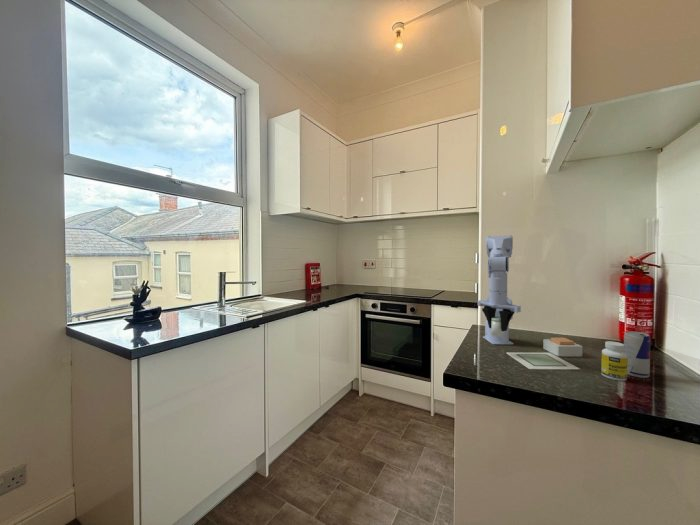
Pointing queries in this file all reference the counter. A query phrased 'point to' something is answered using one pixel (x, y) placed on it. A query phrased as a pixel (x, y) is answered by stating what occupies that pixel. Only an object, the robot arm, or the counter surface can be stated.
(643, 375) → the energy drink
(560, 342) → the button
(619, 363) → the supplement bottle
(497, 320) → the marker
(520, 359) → the picture board
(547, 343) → the button housing
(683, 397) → the counter surface
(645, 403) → the counter surface
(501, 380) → the counter surface
